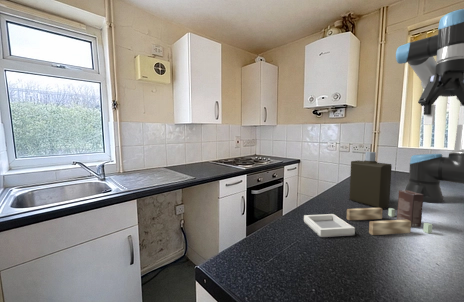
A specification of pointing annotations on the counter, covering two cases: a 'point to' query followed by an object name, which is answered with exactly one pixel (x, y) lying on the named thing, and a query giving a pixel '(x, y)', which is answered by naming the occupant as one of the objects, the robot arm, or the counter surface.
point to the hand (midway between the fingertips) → (446, 124)
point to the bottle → (370, 182)
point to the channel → (379, 226)
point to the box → (410, 207)
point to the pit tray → (329, 225)
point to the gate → (427, 226)
